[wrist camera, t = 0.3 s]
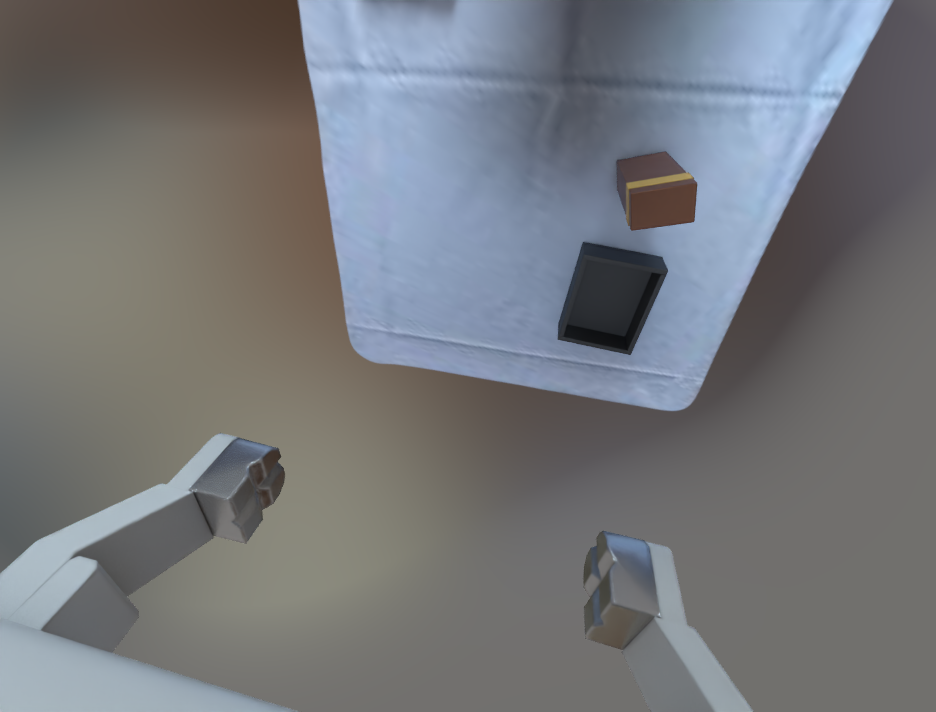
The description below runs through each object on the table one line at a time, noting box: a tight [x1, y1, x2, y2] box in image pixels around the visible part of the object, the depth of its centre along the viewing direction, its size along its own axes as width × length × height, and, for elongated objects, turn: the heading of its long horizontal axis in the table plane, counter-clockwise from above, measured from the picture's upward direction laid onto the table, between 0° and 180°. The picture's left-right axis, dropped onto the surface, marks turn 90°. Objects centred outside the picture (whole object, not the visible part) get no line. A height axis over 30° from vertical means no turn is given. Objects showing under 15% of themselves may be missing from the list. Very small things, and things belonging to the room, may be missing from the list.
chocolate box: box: [617, 152, 697, 231], centre depth 40 cm, size 3×5×14 cm, turn 102°
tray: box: [558, 242, 668, 355], centre depth 53 cm, size 12×10×4 cm
